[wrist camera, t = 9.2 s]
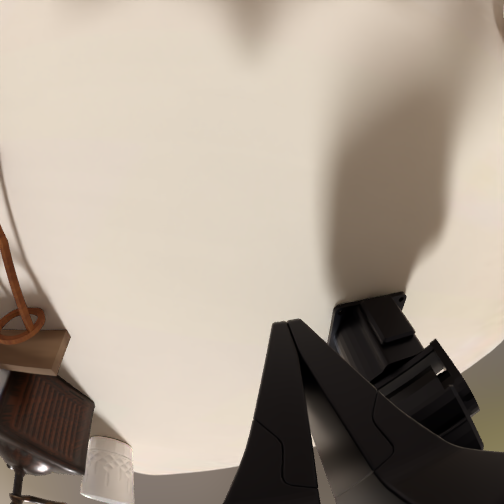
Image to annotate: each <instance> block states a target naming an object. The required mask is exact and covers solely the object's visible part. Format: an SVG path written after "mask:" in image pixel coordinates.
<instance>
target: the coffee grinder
mask: <svg viewBox="0 0 504 504" xmlns="http://www.w3.org/2000/svg"><path fill="white" fill-rule="evenodd" d="M94 408H95V404H94V402H93V401H91V400H90V399H89V398H88V397H87V396H85V395H84V394H83V393H81V392H80V391H78V390H77V389H76V388H74V387H73V386H71V385H70V384H69V383H67V382H66V381H65V380H63V379H62V378H61V377H60V376H58V375H57V376H52V375H42V374H34V373H26V372H19V371H12V370H6V369H0V456H1V457H2V458H3V459H4V461H5V462H6V463H7V466H8V468H10V469H14V471H15V479H14V487H13V493H11V494H9V496H10V498H11V500H12V502H11V503H10V504H22V503H23V501H27V502H33V503H36V504H67V503H64V502H55V501H51V500H46V499H42V498H38V497H34V496H30V495H28V496H27V495H26V496H25V495H21V490H22V481H23V477H24V475H25V474H30V475H35V476H37V475H47V474H50V473H58V474H60V473H61V474H69V475H85V468H86V459H87V450H88V442H89V435H90V428H91V422H92V416H93V411H94Z"/></svg>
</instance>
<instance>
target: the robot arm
mask: <svg viewBox="0 0 504 504" xmlns="http://www.w3.org/2000/svg"><path fill="white" fill-rule="evenodd" d="M405 300H406V295H405V293H404V292H398V293H394V294H389V295H384V296H380V297H375V298H370V299H365V300H360V301H355V302H350V303H345V304H340V305H337V306H336V307H335V308H334V310H333V315H332V320H331V326H330V331H329V337H328V342H327V343H326V342H325V341H324V340H323V339H322V338H320V337H319V336H318V335H317V334H316V333H315V332H314V331H313V330H312V329H311V328H310V327H309V326H308V325H307V324H305V323H304V322H303V321H302V320H301V319H293V320H288V321H287V322H286V321H281V322H274V323H273V324H272V328H271V333H270V338H269V344H268V349H267V354H266V359H265V364H264V369H263V374H262V379H261V384H260V389H259V394H258V398H257V403H256V408H255V412H254V417H253V421H252V425H251V430H250V434H249V438H248V442H247V445H246V449H245V452H244V455H243V457H242V460H241V463H240V465H239V468H238V470H237V473H236V475H235V477H234V480H233V482H232V484H231V487H230V489H229V491H228V493H227V496H226V498H225V500H224V503H223V504H320V498H319V492H318V489H317V488H318V483H317V475H316V467H315V459H314V452H313V445H312V438H311V434H312V436H313V439H314V442H315V445H316V448H317V450H318V453H319V456H320V459H321V462H322V465H323V467H324V470H325V473H326V476H327V479H328V482H329V484H330V487H331V490H332V493H333V496H334V498H335V501H336V504H504V452H494V451H484V450H483V447H484V445H483V442H482V440H481V438H480V436H479V434H478V431H477V430H476V427H475V425H474V423H473V421H472V419H471V417H472V416H473V415H474V414H476V413H477V412H478V411H480V409H479V407H478V404H477V402H476V400H475V398H474V396H473V394H472V392H471V390H470V388H469V387H468V385H467V383H466V382H465V380H464V378H463V377H462V375H461V374H460V372H459V371H458V369H457V368H456V367H455V365H454V364H453V362H452V361H451V359H450V358H449V356H448V355H447V354H446V352H445V351H444V349H443V348H442V347H441V345H440V344H439V343H438V341H437V340H436V339H434V340H433V341H432V342H431V343H430V345H429V346H427V347H426V348H425V349H424V348H423V346H422V345H421V343H420V341H419V340H418V338H417V337H416V335H415V330H414V328H413V327H412V326H411V324H410V323H409V321H408V320H407V318H406V317H405V315H404V314H403V312H402V309H403V306H404V303H405ZM340 310H341V311H340ZM339 311H340V312H339ZM442 369H444V372H442V373H439V374H438V375H436V374H437V373H438V372H440V371H441V370H442Z"/></svg>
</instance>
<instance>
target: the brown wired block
mask: <svg viewBox="0 0 504 504" xmlns="http://www.w3.org/2000/svg"><path fill="white" fill-rule="evenodd" d="M25 331H27V330H3V329H1V332H0V333H1V334H2V335H5V336H15V335H19V334H21V333H23V332H25ZM70 338H71V337H70V335H69V334H68V332H67V330H39V332H38V333H36V334H35V335H34V336H33V337H31V338H30V339H28V340H26V341H24V342H22V343H19V344H13V345H5V344H1V343H0V369H6V370H12V371H19V372H26V373H34V374H42V375H52V376H57V374H58V371H59V368H60V365H61V362H62V359H63V356H64V354H65V351H66V348H67V346H68V343H69V340H70Z"/></svg>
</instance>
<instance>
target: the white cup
mask: <svg viewBox="0 0 504 504" xmlns="http://www.w3.org/2000/svg"><path fill="white" fill-rule="evenodd" d="M132 460H133V450H132V448H131V446H129V445H127V444H126V443H124V442H121V441H118V440H116V439H112V438H108V437H102V436H93V437H91V439H90V442H89V447H88V452H87V459H86V468H85V475H82V482H81V489H80V494H81V495H84V496H86V497H88V498H91V499H95V500H98V501H101V502H105V503H110V504H134V477H133V463H132Z"/></svg>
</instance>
